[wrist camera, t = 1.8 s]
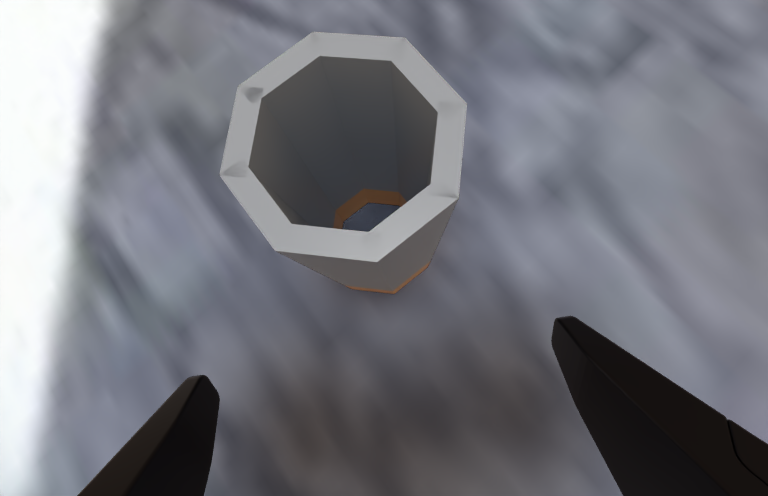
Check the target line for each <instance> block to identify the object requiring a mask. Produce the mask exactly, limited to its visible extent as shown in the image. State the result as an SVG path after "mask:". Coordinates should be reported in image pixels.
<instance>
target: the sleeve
mask: <svg viewBox="0 0 768 496" xmlns="http://www.w3.org/2000/svg"><path fill="white" fill-rule="evenodd" d="M466 109H467V103H466V102H465V101H464V100H463V99H462V98H461V97H460V96H459V95H458V94H457V93H456V92H455V91H454V89H453V88H452V87H451V86H450V85H449V84H448V83H447V82H446V81H445V80H444V79H443V78H442V77H441V76H440V75H439V73H438V72H437V71H436V70H435V69H434V68H433V67H432V66H431V65H430V64H429V63H428V62H427V61H426V60H425V59H424V57H423V56H422V55H421V54H420V53H419V52H418V51H417V50H416V49H415V48H414V47H413V46H412V45H411V44H410V43H409V41H408V40H407V39H406V38H400V37H385V36H369V35H353V34H338V33H322V32H312V33H311V34H309V35H308V36H307V37H305V38H304V39H302V40H301V41H300V42H298V43H297V44H296V45H294V46H293V47H291V48H290V49H289V50H287V51H286V52H284V53H283V54H282V55H280V56H279V57H278V58H276V59H275V60H273V61H272V62H271V63H269V64H268V65H267V66H265V67H264V68H262V69H261V70H260V71H258V72H257V73H255V74H254V75H253V76H251V77H250V78H249V79H247V80H246V81H244V82H243V83H242V84H240V85H239V86H238V88H237V93H236V98H235V102H234V107H233V112H232V117H231V122H230V127H229V132H228V136H227V141H226V146H225V151H224V156H223V161H222V166H221V170H220V176H221V178H222V179H223V181H224V182H225V183H226V185H227V186H228V187H229V189H230V190H231V191H232V193H233V194H234V196H235V197H236V198H237V200H238V201H239V202H240V204H241V205H242V206H243V208H244V209H245V210H246V212H247V213H248V215H249V216H250V217H251V219H252V220H253V221H254V223H255V224H256V225H257V227H258V228H259V230H260V231H261V232H262V234H263V235H264V236H265V238H266V239H267V240H268V242H269V243H270V244H271V246H272V247H273V249H274V250H275V251H276V252H278V253H280V254H282V255H284V256H286V257H288V258H290V259H292V260H294V261H296V262H298V263H300V264H302V265H304V266H306V267H308V268H310V269H312V270H314V271H316V272H319V273H321V274H323V275H325V276H327V277H329V278H331V279H333V280H335V281H337V282H339V283H341V284H343V285H345V286H347V287H349V288H351V289H356V290H364V291H373V292H381V293H390V294H395V293H396V292H397V291H399V290H400V289H401V288H402V287H404V286H405V285H406V284H407V283H409V282H410V281H411V280H412V279H414V278H415V277H416V276H417V275H419V274H420V273H421V272H422V271H424V270H425V269H426V268H428V266H429V263H430V261H431V259H432V257H433V254H434V252H435V250H436V248H437V246H438V243H439V241H440V239H441V237H442V234H443V232H444V230H445V228H446V225H447V223H448V221H449V219H450V216H451V214H452V212H453V210H454V208H455V205H456V203H457V201H458V199H459V187H460V176H461V165H462V154H463V143H464V131H465V120H466ZM367 203H378V204H389V205H399V206H400V208H399V209H398V210H396V211H395V212H394V213H393V214H391V215H390V216H389V217H387V218H386V219H385V220H384V221H382V222H381V223H380V224H378V225H377V226H376V227H375V228H373V229H372V230H371V231H369V232H364V231H354V230H345V229H342V228H343V222H344V221H345V220H346V219H348V218H349V217H350V216H351V215H353V214H354V213H355V212H357V211H358V210H359V209H360V208H362V207H363V206H364V205H366V204H367Z"/></svg>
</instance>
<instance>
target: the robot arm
mask: <svg viewBox="0 0 768 496" xmlns="http://www.w3.org/2000/svg"><path fill="white" fill-rule="evenodd" d="M551 341H552V347H553V350H554V353H555V355H556V358H557V360H558V363H559V365H560V368H561V370H562V373H563V375H564V378H565V380H566V383H567V385H568V388H569V390H570V393H571V395H572V398H573V400H574V402H575V405H576V407H577V409H578V411H579V413H580V415H581V417H582V419H583V421H584V423H585V424H586V426H587V428H588V430H589V432H590V434H591V436H592V438H593V440H594V441H595V443H596V445H597V447H598V449H599V451H600V453H601V455H602V457H603V458H604V460H605V462H606V464H607V466H608V468H609V470H610V472H611V474H612V475H613V477H614V479H615V481H616V483H617V485H618V487H619V489H620V491H621V492H622V494H623V496H768V444H767V443H765V442H764V441H762V440H761V439H759V438H757V437H756V436H754V435H753V434H751V433H750V432H748V431H747V430H745V429H744V428H742V427H741V426H739V425H738V424H736V423H735V422H733V421H732V420H727V419H726V417H725V416H724V415H722V414H721V413H719V412H718V411H716V410H715V409H713V408H712V407H710V406H709V405H707V404H706V403H704V402H703V401H701V400H700V399H698V398H697V397H695V396H693V395H692V394H690V393H689V392H687V391H686V390H684V389H683V388H681V387H680V386H678V385H677V384H675V383H674V382H672V381H671V380H669V379H668V378H666V377H665V376H663V375H662V374H660V373H659V372H657V371H656V370H654V369H653V368H651V367H650V366H648V365H647V364H645V363H644V362H642V361H641V360H639V359H638V358H636V357H635V356H633V355H631V354H630V353H628V352H627V351H625V350H624V349H622V348H621V347H619V346H618V345H616V344H615V343H613V342H612V341H610V340H609V339H607V338H606V337H604V336H603V335H601V334H600V333H598V332H597V331H595V330H594V329H592V328H591V327H589V326H588V325H586V324H585V323H583V322H582V321H580V320H579V319H577V318H575V317H573V316H565V317H559V318H556V319H555V321H554V326H553V333H552V340H551ZM219 402H220V398H219V394H218V392H217V390H216V389H215V387H214V386H213V384H212V383H211V381H210V380H209V378H208V377H207V376H205V375H198V376H192V377H189V378H187V379H186V380H185V381H184V382H183V383H182V384H181V385H180V386H179V387H178V389H177V390H176V391H175V392H174V393H173V394H172V395H171V396H170V397H169V398H168V399H167V400H166V401H165V402H164V403H163V405H162V406H161V407H160V408H159V409H158V410H157V411H156V412H155V413H154V414H153V415H152V416H151V417H150V418H149V419H148V421H147V422H146V423H145V424H144V425H143V426H142V427H141V428H140V429H139V430H138V431H137V432H136V433H135V434H134V436H133V437H132V438H131V439H130V440H129V441H128V442H127V443H126V444H125V445H124V446H123V447H122V448H121V449H120V450H119V452H118V453H117V454H116V455H115V456H114V457H113V458H112V459H111V460H110V461H109V462H108V463H107V464H106V465H105V467H104V468H103V469H102V470H101V471H100V472H99V473H98V474H97V475H96V476H95V477H94V478H93V479H92V480H91V481H90V483H89V484H88V485H87V486H86V487H85V488H84V489H83V490H82V491H81V492H80V493H79V494H78V495H77V496H204V492H205V488H206V484H207V480H208V475H209V471H210V466H211V462H212V455H213V449H214V441H215V433H216V426H217V418H218V410H219Z"/></svg>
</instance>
